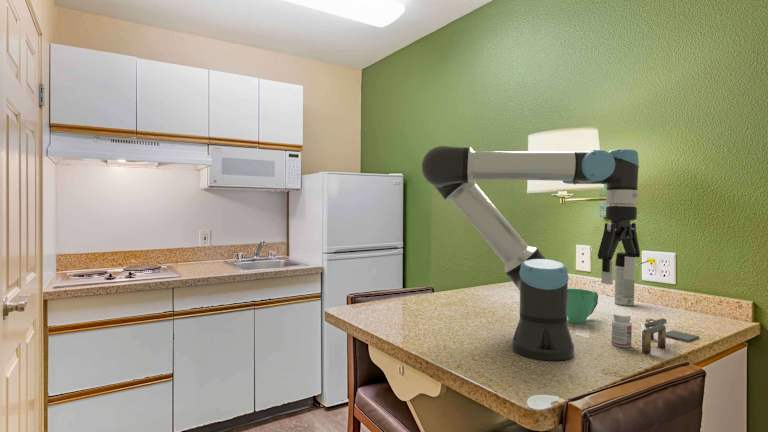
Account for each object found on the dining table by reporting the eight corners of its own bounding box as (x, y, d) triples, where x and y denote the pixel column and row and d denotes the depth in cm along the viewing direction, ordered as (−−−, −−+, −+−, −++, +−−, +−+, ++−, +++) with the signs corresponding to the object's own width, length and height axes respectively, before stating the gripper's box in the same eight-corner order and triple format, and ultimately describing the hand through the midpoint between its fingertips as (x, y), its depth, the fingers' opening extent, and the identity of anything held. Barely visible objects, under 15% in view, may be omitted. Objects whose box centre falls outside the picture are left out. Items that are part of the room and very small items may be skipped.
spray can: (634, 303, 170) (635, 253, 169) (633, 307, 164) (634, 254, 164) (615, 301, 173) (616, 251, 173) (613, 304, 168) (614, 253, 167)
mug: (580, 327, 136) (581, 295, 136) (554, 320, 144) (554, 290, 144) (608, 321, 143) (609, 291, 143) (582, 314, 152) (582, 286, 152)
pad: (687, 342, 121) (687, 340, 121) (661, 335, 127) (661, 333, 127) (699, 338, 125) (699, 336, 125) (672, 332, 131) (672, 330, 131)
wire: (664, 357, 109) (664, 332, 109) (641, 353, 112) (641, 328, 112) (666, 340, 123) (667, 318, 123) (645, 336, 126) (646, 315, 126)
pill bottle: (630, 348, 115) (631, 317, 115) (610, 345, 118) (611, 315, 118) (631, 344, 119) (632, 313, 119) (612, 341, 122) (612, 311, 122)
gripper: (614, 205, 110) (611, 288, 110) (654, 206, 125) (651, 279, 125) (585, 204, 116) (582, 283, 116) (627, 206, 131) (624, 275, 131)
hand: (618, 281), depth 121 cm, fingers open, 13 cm apart
